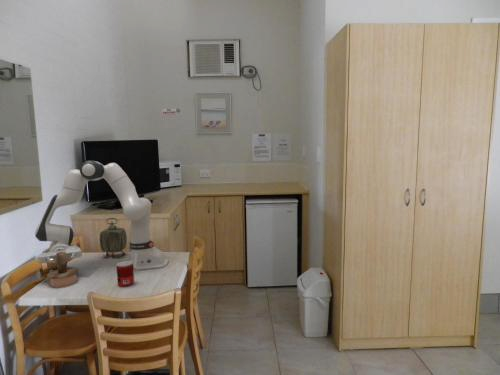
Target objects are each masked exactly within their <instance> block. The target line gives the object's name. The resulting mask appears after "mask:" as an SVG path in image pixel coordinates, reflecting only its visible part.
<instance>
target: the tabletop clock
mask: <svg viewBox="0 0 500 375" xmlns="http://www.w3.org/2000/svg"><path fill="white" fill-rule="evenodd" d="M109 220H115V221H116V222H113V221H111V222H108V221H109ZM106 224H108V225H109V226H108V227H107V228H105V229H104V230H102V231H100V234H99V245H100V250H101V251H102V252H104V253H105V255H106V256H108V255H109V253H112V255H111V257H112V258H115V255H114V253H119V252H121V253H122V255H123V256H125V255H126V252H124V251H123V250H124V249H125V248H127V245H128V244H127V242H128V238H127V232H126V229H125V228H123V227H117V224H118V219H117V218H115V217H108V218H107V219H106Z"/></svg>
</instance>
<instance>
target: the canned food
mask: <svg viewBox="0 0 500 375" xmlns="http://www.w3.org/2000/svg"><path fill="white" fill-rule="evenodd" d="M134 271H135V270H134V268H133V262H132V261H130V260H124V261H120V262H117V263H116V278H117V279H116V280H117V286H118V287H121V288H125V287H131V286H132V285H134V283H135V276H134V275H135V274H134Z"/></svg>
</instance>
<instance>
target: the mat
mask: <svg viewBox="0 0 500 375" xmlns="http://www.w3.org/2000/svg"><path fill="white" fill-rule="evenodd" d="M76 268H77V269H78V273H77V274H76V277H77V278H89V277H91V276H92V275H93V274H94V273H95V272H97V271H98V270H99V269H100V266H92V267H90V266H89V267H88V266H87V267H86V266H85V267H84V266H83V267H76Z"/></svg>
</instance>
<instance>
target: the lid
mask: <svg viewBox="0 0 500 375" xmlns="http://www.w3.org/2000/svg"><path fill="white" fill-rule="evenodd" d="M56 256H57V261H56V265H57V268H56V269H53V270H51V271H49V272H48V273H47V274H46V275H47V276H46V277H47V278H48V279H49V280H50V279H61V278H67V277H70V276H73V275H75V274H77V273H78V269H77V268H78V267H72V266H71V267H70V266H69V267H68V259H66V252H59V253H56Z"/></svg>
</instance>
